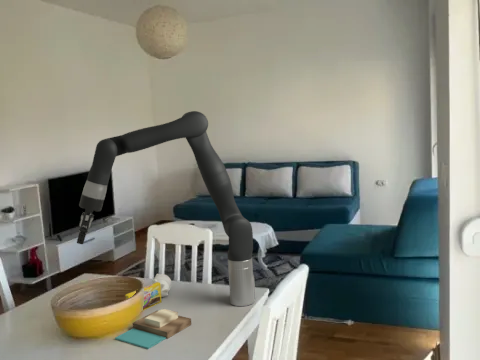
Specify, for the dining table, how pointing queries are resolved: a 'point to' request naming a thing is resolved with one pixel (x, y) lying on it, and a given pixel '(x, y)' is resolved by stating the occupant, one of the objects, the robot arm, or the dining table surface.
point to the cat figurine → (163, 283)
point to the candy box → (149, 295)
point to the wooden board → (165, 330)
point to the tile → (161, 318)
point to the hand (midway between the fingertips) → (80, 240)
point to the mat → (140, 338)
